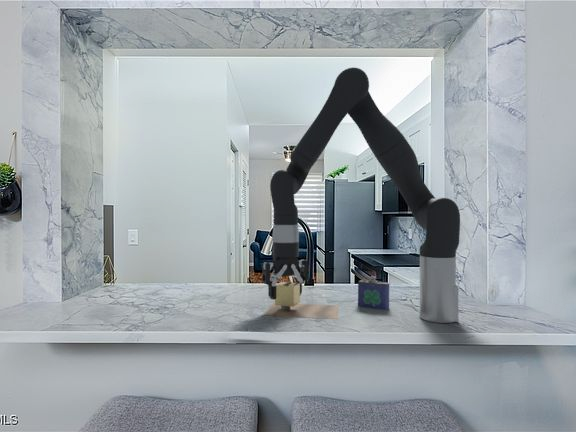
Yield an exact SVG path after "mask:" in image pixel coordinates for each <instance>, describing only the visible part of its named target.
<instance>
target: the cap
mask: <svg viewBox="0 0 576 432" xmlns="http://www.w3.org/2000/svg"><path fill="white" fill-rule="evenodd" d="M275 286H276V299H274V303H275V305H280V306H291V307H294V306H295V305H297V304H300V303H301V295H300V283H296V282H292V281H290V280H289V281H281V282H279V283H276V285H275Z"/></svg>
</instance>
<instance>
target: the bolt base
mask: <svg viewBox="0 0 576 432" xmlns="http://www.w3.org/2000/svg"><path fill="white" fill-rule="evenodd" d="M339 308H340V306H339V305H331V304H309V303H307V304H306V303H298V304H297V305H295V306H294V307H291V306H280V305H275V302H273V303H272V304H271V305H270V306H269V308H268V309H267V310H266V311H265V312H264V314H263V315H262V316H266V317H269V316H270V317H288V318H306V319H328V320H331V319H332V320H339V312H340V311H339Z"/></svg>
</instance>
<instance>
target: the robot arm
mask: <svg viewBox="0 0 576 432" xmlns="http://www.w3.org/2000/svg"><path fill="white" fill-rule="evenodd" d="M369 89H370V81H369V77H368V75H367V73H366V72H365V71H364V70H363V69H361V68H359V67H349V68H346V69H344V70H342V71H341V72H340V73H339V74H338V75H337V77H336V79H335V81H334V84H333V87H332V89H331V91H330V93H329V95H328V97H327V99H326V101H325V103H324V105H323V106H322V108H321V109H320V111H319V113H318V115H316V117H315V118H314V121H312V124H311V125H310V126H309V128H308V129H307V130H306V132H305V133H304V134H303V136H302V137H301V139H299V141H298V143H297V145H296V146H295V147H294V149H293V151H292V152H291V154H290V157H289V159H290V161H289V164H288V166H287V168H286V169H285V170H284V169H280V170H277V171H275V172H274V173H273V174H272V176H271V179H270V184H269V187H270V188H269V189H270V197H271V203H272V207H273V228H272V237H271V238H272V262H265V261H263V262H262V266H261V267H262V269H261V272H262V273H261V283H262V284H264V285H267V286H268V298H270V299H271V300H274V301H275V299H276V286H275V285H277V284H278V281H279V280H280V279H281V278H282V277H287V276H289V277H292V278H293V280H294V281H295V283H300V296H301V295H302V292H303V283H304V282H305V281H308V280H309V264H308V263H309V262H308V260H306V259H300V260H299V256H300V255H299V254H300V252H299V249H300V245H299V244H300V243H299V242H300V239H299V238H300V231H299V210H298V207H297V205H296V203H295V195H296V194H297V193H298V192H299V191H300V190H301V188H302V187H303V185H304V183H305V182H306V180H307V177H308V176H309V174H310V171H311V168H312V167H314V165H315V164H316V162H317V161H318V160H319V158H320V156H321V155H322V153H323V152H324V150H326V149H325V148H326V147H327V146H328V144H329V143H330V140H331V139H332V137H333V135H334V134H335V132H336V130H337V128H338V127H339V125H340V124H341V122H342V121H343V119H344V118H346V117H347V115H348V116H349V117H350V118H351V120H352V121H353V122H354V124H356V126H357V127H358V129H359V130H360V133H361V134H362V137H363V138H364V140H365V142H366V144H367V145H368V147H369V149H370V151H371V152H372V154H373V155H374V157H375V158H376V160H377V162H378V163H379V164H380V166H381V167H382V168H383V170H384V171H385V172H386V174H387V176H388V177H389V179H390V180H391V182H392V183H393V184H394V186H395V187H396V189H397V190H398V191H399V193H400V194H401V196H402V197H403V199H404V201H405V203H406V205H407V207H408V208H409V210H410V212H411V214H412V216H413V218H414V219H415V221H416V223H417V224H418V226H419V227H420V228H422V229H423V230H426V231H425V239H424V242H423V243H422V244H421V245H420V246H419V317H420V318H421V319H422V320H424V321H427V322H432V323H441V324H450V323H459V286H458V285H457V264H456V263H457V262H456V261H457V260H456V259H457V258H456V257H457V250H458V247H459V244H460V230H461V214H460V209H459V206H458V205H457V203H456V202H455V201H454V200H453V199H452V198H451V199H450V198H448V197H435V195H433V193H432V192H431V191H430V189H429V188H428V186H427V185H426V183H425V182H424V180H423V178H422V174H421V171H420V167H419V162H418V158H417V155H416V153H415V151H414V149H413V148H412V146H411V145H410V143H409V141H408V140H407V138H405V136H404V135H403V133H402V132H401V131H400V129H398V127H396V125H395V124H393V122H391V121H390V120H389V119H388V117H386V116H385V115H384V114H383V113H382V112H381V110H380V109H379V107H378V106H377V104H376V102H375V101H374V99H373V97H372V96H371V95H372V94H370V91H369ZM298 267H299V270H298ZM271 270H273V271H272V272H271Z"/></svg>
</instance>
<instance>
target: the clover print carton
mask: <svg viewBox="0 0 576 432" xmlns="http://www.w3.org/2000/svg"><path fill="white" fill-rule="evenodd" d="M376 278H377V276H374V275H371V276H370V279H367V280H366V279H365V278H363V279H361V280H358V283H357V293H358V294H357V295H358V296H357V306H358V307H362V308H367V309H374V310H375V309H376V310H389V309H390V283H389V282H383V281H382V282H381V281H376Z"/></svg>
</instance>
